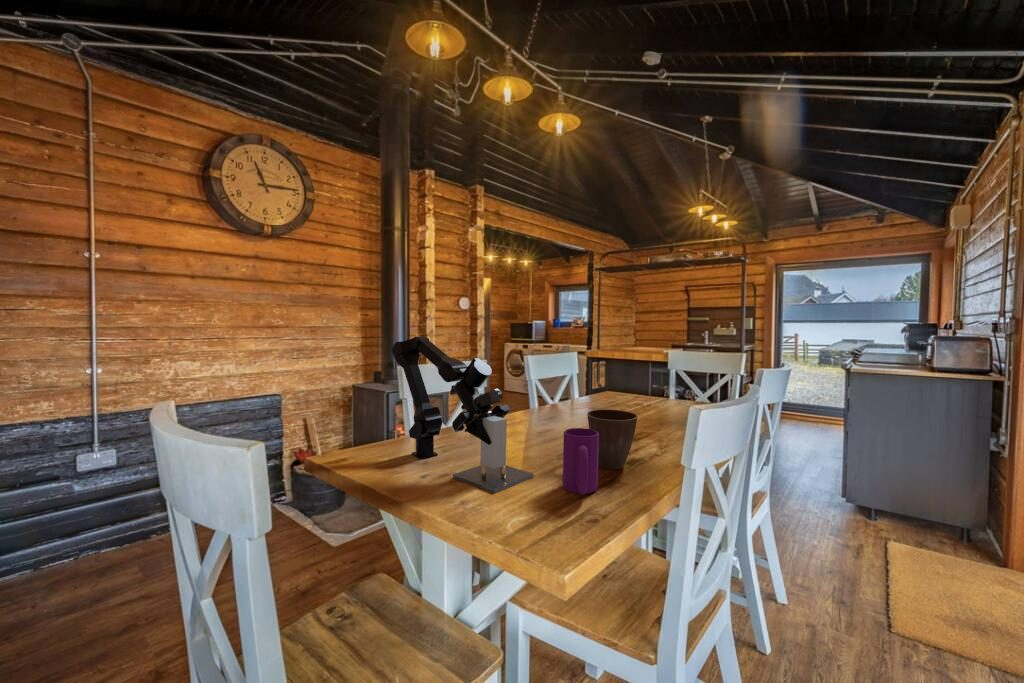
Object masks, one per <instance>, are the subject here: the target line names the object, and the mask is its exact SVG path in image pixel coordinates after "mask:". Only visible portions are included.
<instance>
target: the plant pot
mask: <svg viewBox="0 0 1024 683" xmlns="http://www.w3.org/2000/svg"><path fill="white" fill-rule="evenodd" d="M586 414H587V421H588V427H589V428H588V429H591V430H595V431H597V432H598V433H599V454H598V467H600V468H602V469H604V470H611V471H615V470H616V471H617V470H622V469H623V468H624V466H625V464H626V462H627V460H628V457H629V454H630V451H631V449H632V444H633V442H634V437H635V433H636V428H637V422H638V417H639V416H638V414H636V413H633V412H630V411H626V410H620V409H619V410H618V409H594V410H590V411H587V413H586Z"/></svg>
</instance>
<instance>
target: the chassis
mask: <svg viewBox="0 0 1024 683" xmlns="http://www.w3.org/2000/svg"><path fill="white" fill-rule="evenodd" d="M532 478H534V473H532V472H529V471H526V470H523V469H519V468H516V467H513V466H509V465H504V466H501V467H498V468H495V469H492V468H489V467H486V466H483V465H480V464H479V465H477V466H474V467H471V468H469V469H465V470H463V471H459V472H457V473H454V474H452V479H453V480H456V481H460V482H462V483H464V484H468V485H470V486H472V487H475V488H478V489H482V490H484V491H487V492H490V493H492V494H497V493H499V492H501V491H504V490H506V489H508V488H511V487H514V486H516V485H518V484H521V483H523V482H525V481H528V480H530V479H532Z"/></svg>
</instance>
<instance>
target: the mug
mask: <svg viewBox="0 0 1024 683" xmlns="http://www.w3.org/2000/svg"><path fill="white" fill-rule="evenodd" d="M562 450H563V453H562V456H563V457H562V487H563V488H564V489H565V490H566V491H568V492H570V493H573V494H579V495H587V494H592V493H593V492H597V489H598V485H599V464H598V454H599V433H598V432H597V431H595V430H591V429H589V428H583V427H573V428H568V429H565V430H564V431H563V448H562Z"/></svg>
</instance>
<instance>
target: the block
mask: <svg viewBox="0 0 1024 683" xmlns="http://www.w3.org/2000/svg"><path fill="white" fill-rule="evenodd" d="M482 421H483V426H484V428H485V430H486V432H487V434H488V436H489V437H490V440H491V442H492V443H491V444H490V445H488V444H487V443H485V442H484V441H482V440H480V458H479V459H480V461H479V462H480V464H479V466H480V465H483V466H486V467H489V468H492V469H495V468H498V467H501V466H504V465H506V463H507V462H506V460H507V432H508V430H507V428H508V424H507V423H508V419H507V418H505V417H504V418H501V417H496V416H491V417H486V418H482ZM506 466H507V465H506Z"/></svg>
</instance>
